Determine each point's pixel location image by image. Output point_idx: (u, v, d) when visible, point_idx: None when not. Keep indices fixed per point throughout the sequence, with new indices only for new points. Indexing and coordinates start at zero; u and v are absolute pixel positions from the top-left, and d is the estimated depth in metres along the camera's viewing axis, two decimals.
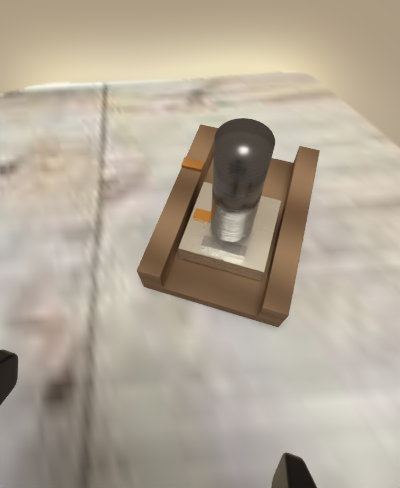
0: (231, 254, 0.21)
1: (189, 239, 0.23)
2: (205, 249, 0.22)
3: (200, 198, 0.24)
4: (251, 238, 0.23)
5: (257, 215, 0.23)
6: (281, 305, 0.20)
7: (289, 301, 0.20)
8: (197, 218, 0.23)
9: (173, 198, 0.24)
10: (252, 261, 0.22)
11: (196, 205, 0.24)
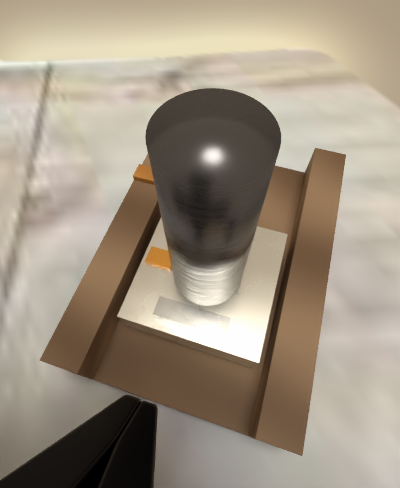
0: (204, 331, 0.13)
1: (136, 300, 0.14)
2: (161, 319, 0.13)
3: (160, 229, 0.15)
4: (238, 299, 0.14)
5: (249, 259, 0.15)
6: (288, 433, 0.11)
7: (303, 425, 0.11)
8: (152, 263, 0.14)
9: (115, 230, 0.15)
10: (239, 342, 0.13)
11: (152, 241, 0.15)
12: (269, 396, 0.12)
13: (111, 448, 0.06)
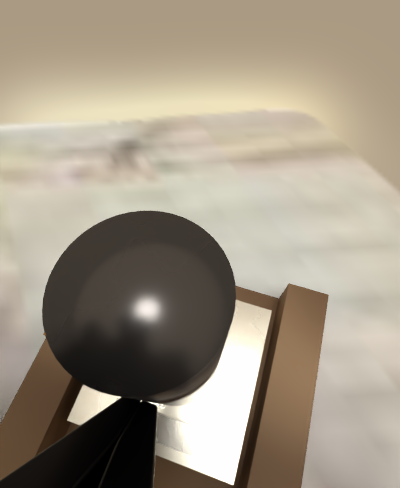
0: (167, 446, 0.10)
1: (91, 398, 0.12)
2: None
3: None
4: (211, 396, 0.12)
5: (226, 343, 0.12)
6: None
7: None
8: None
9: (11, 424, 0.11)
10: (210, 456, 0.11)
11: None
12: None
13: (111, 448, 0.06)
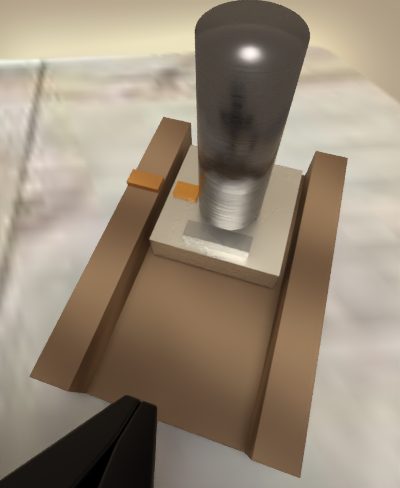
0: (229, 248, 0.14)
1: (166, 226, 0.15)
2: (189, 241, 0.15)
3: (185, 167, 0.17)
4: (259, 224, 0.15)
5: (268, 191, 0.16)
6: (285, 454, 0.11)
7: (301, 446, 0.11)
8: (179, 195, 0.16)
9: (108, 238, 0.14)
10: (261, 259, 0.14)
11: (178, 177, 0.16)
12: (266, 415, 0.11)
13: (111, 448, 0.06)
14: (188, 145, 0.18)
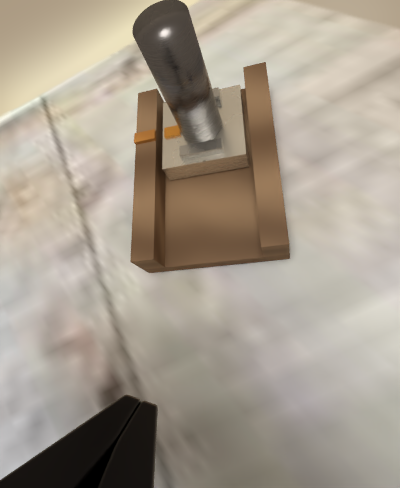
0: (210, 150, 0.22)
1: (169, 157, 0.23)
2: (186, 159, 0.23)
3: (165, 118, 0.25)
4: (223, 130, 0.23)
5: (222, 108, 0.23)
6: (278, 237, 0.19)
7: (285, 230, 0.19)
8: (169, 136, 0.24)
9: (138, 178, 0.23)
10: (232, 149, 0.22)
11: (164, 126, 0.24)
12: (262, 224, 0.19)
13: (111, 448, 0.06)
14: (162, 104, 0.26)
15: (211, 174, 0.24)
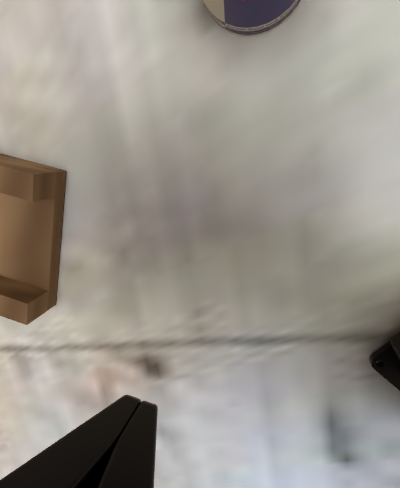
0: None
1: None
2: None
3: None
4: None
5: None
6: (25, 182, 0.18)
7: (19, 172, 0.18)
8: None
9: None
10: None
11: None
12: (11, 192, 0.19)
13: (111, 448, 0.06)
14: None
15: None
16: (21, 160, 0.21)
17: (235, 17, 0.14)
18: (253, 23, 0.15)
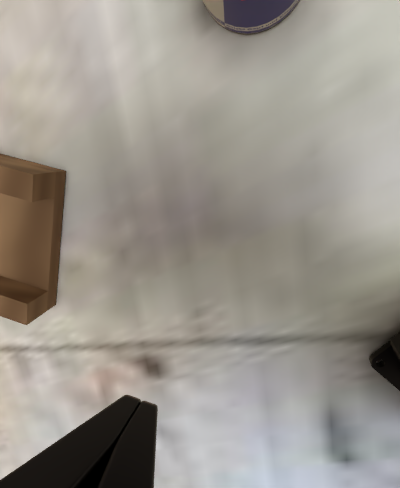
0: None
1: None
2: None
3: None
4: None
5: None
6: (25, 182, 0.18)
7: (19, 172, 0.18)
8: None
9: None
10: None
11: None
12: (10, 192, 0.19)
13: (111, 448, 0.06)
14: None
15: None
16: (21, 160, 0.21)
17: (235, 17, 0.14)
18: (252, 23, 0.15)
